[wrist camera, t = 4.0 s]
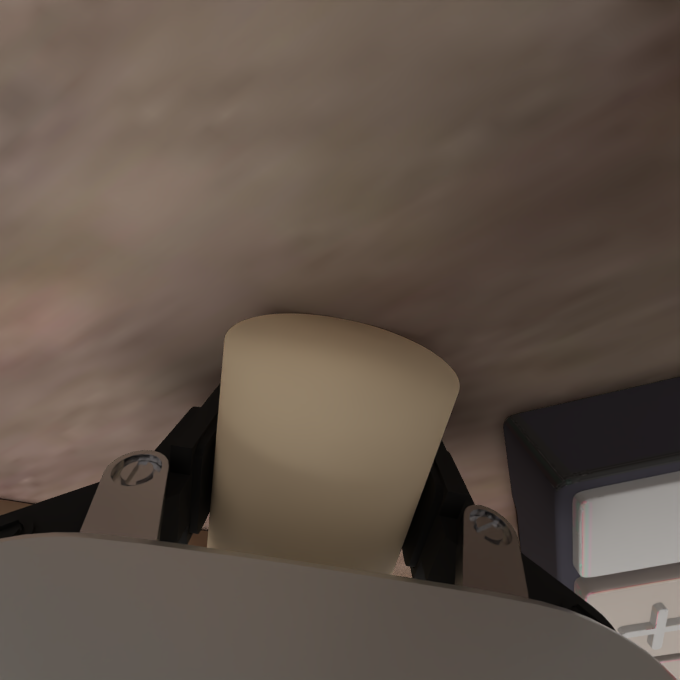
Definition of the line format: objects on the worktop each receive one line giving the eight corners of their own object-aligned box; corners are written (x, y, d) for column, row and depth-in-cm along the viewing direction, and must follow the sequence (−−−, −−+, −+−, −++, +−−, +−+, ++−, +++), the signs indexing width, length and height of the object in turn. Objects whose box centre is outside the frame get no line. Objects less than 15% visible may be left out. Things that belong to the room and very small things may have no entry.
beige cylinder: (334, 309, 12) (176, 322, 8) (490, 372, 9) (371, 462, 4) (296, 502, 15) (168, 592, 11) (399, 602, 12) (276, 793, 8)
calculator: (574, 741, 14) (573, 506, 9) (522, 624, 18) (498, 413, 13) (850, 707, 13) (1046, 413, 8) (729, 590, 17) (800, 344, 12)
